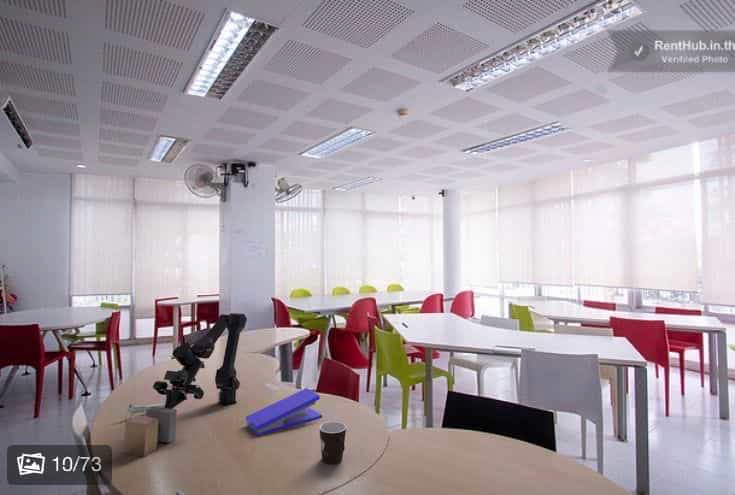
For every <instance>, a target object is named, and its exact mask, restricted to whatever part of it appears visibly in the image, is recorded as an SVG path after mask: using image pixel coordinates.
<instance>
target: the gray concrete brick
mask: <svg viewBox="0 0 735 495" xmlns="http://www.w3.org/2000/svg"><path fill="white" fill-rule="evenodd" d="M177 412H178V411H177V409H176V408H173V409H169V408H161V407H154V406H153V407H150V408H148V409H146V410H145V417H152V418H158V422H161V429H159V430H158V435H157V442H161V443H167V444H169V443H171V442H173V441H174V440H176V431H177V429H176V426H177Z"/></svg>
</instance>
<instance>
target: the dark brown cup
mask: <svg viewBox="0 0 735 495" xmlns="http://www.w3.org/2000/svg"><path fill="white" fill-rule="evenodd" d="M318 427H319V437H320V438H319V439H320V450H321V460H322V462H323V463H325V464H326V465H337V464H340V463H341V462H342V461H343V456H344V451H345V446H346V445H345V441H346V435H347V425H346V424H345V423H344V422H339V421H327V422H323V423H322V424H320V425H319V426H318Z"/></svg>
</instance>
